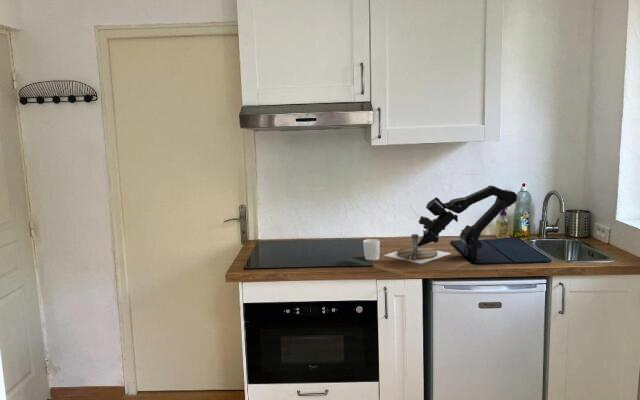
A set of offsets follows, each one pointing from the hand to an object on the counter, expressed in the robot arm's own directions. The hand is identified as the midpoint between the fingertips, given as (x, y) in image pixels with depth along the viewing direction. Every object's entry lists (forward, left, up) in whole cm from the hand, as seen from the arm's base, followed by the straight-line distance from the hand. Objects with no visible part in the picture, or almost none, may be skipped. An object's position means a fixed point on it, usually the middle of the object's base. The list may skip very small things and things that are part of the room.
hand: (418, 246), depth 234 cm
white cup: (+18, +13, -8) cm, 23 cm away
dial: (+6, -6, -6) cm, 11 cm away
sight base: (+6, -6, -8) cm, 12 cm away
